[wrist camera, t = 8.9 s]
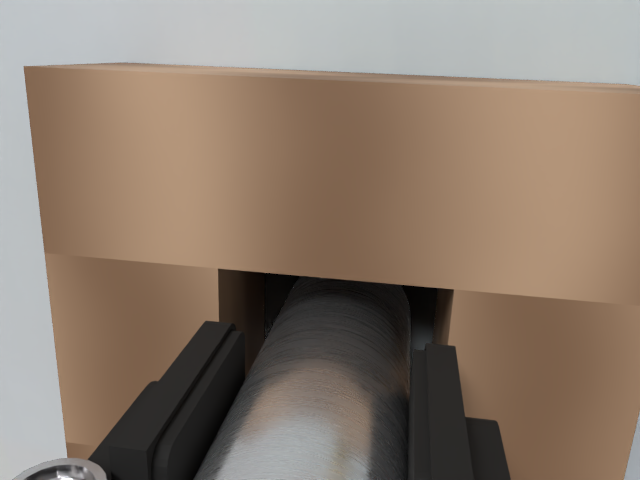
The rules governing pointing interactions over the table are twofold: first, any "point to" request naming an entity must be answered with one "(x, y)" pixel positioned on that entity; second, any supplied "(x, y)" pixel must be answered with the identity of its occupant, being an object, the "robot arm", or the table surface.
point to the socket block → (349, 231)
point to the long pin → (323, 390)
